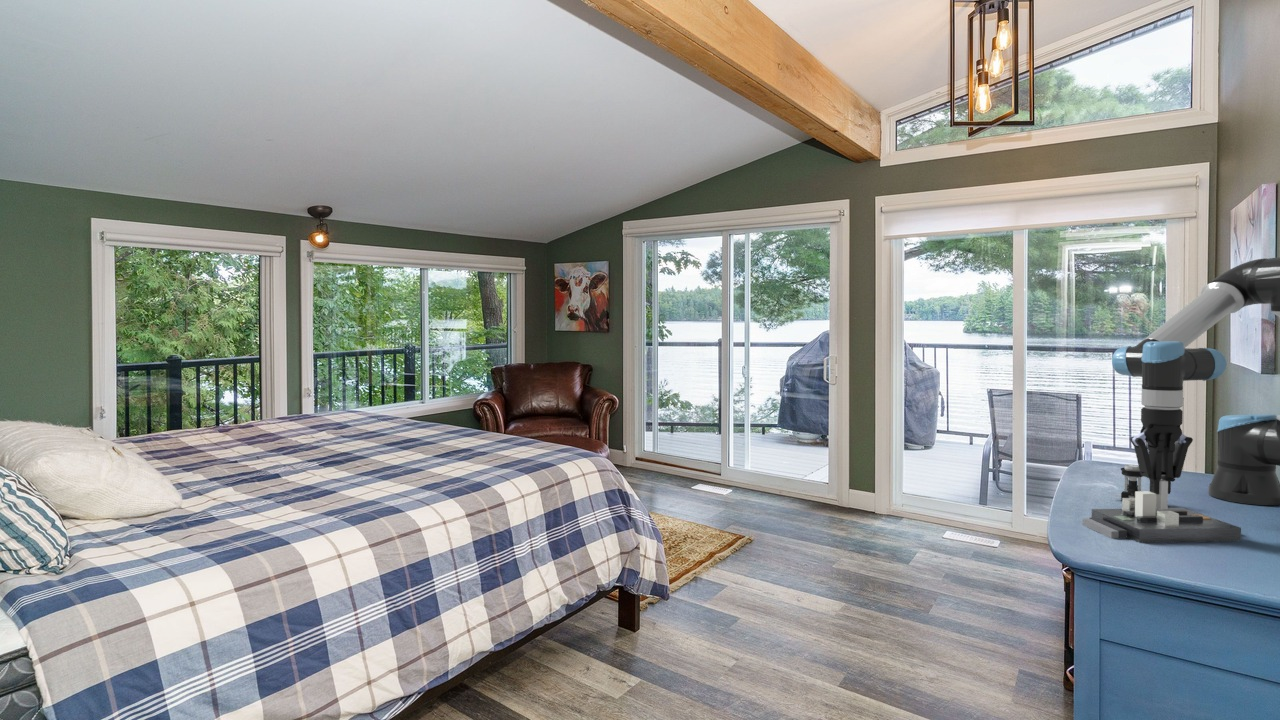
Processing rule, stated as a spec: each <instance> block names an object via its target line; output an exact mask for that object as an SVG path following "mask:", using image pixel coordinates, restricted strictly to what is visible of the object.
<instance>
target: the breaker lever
mask: <svg viewBox="0 0 1280 720" xmlns="http://www.w3.org/2000/svg"><path fill="white" fill-rule="evenodd" d="M1156 508H1157V507H1156V494H1155V493H1152V492H1150V490H1146V491H1145V490H1141V491H1135V517H1137V516H1156Z"/></svg>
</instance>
